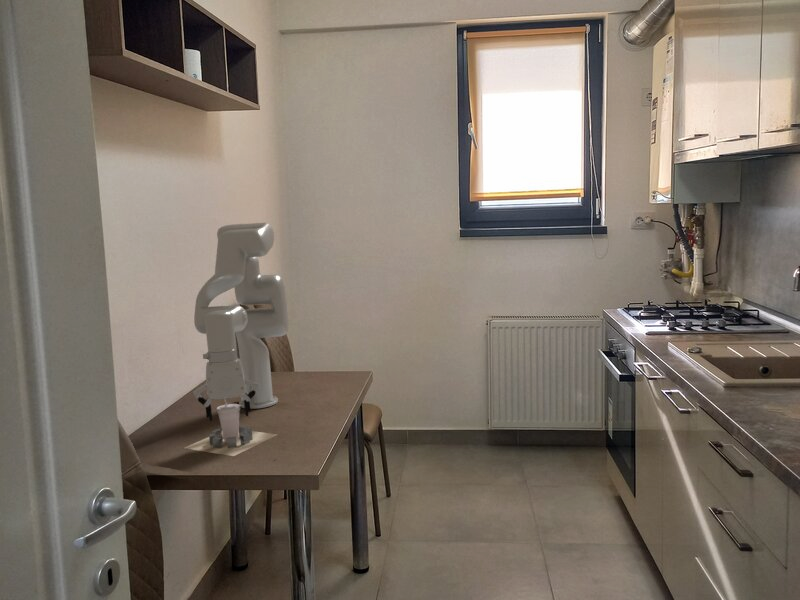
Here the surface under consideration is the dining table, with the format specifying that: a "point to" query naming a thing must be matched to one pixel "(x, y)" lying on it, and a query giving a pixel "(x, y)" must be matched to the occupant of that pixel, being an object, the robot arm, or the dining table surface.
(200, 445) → the socket plate
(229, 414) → the smoothie
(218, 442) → the grey blocks
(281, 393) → the dining table surface
